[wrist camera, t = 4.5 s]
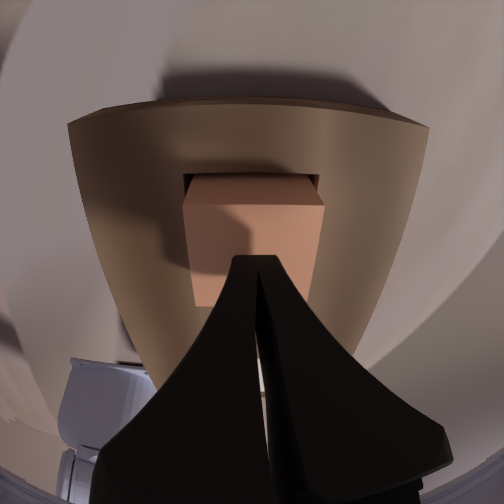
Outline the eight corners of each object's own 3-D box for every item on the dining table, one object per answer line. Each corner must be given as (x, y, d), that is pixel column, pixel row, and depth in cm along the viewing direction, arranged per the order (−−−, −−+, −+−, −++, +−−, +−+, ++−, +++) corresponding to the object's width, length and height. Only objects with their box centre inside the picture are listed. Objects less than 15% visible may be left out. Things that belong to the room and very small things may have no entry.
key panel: (164, 360, 23) (159, 394, 20) (103, 108, 11) (67, 123, 8) (325, 357, 23) (333, 390, 21) (391, 111, 12) (429, 128, 9)
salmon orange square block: (202, 257, 14) (195, 306, 11) (195, 169, 11) (182, 205, 9) (294, 256, 14) (306, 304, 11) (304, 170, 11) (324, 205, 9)
